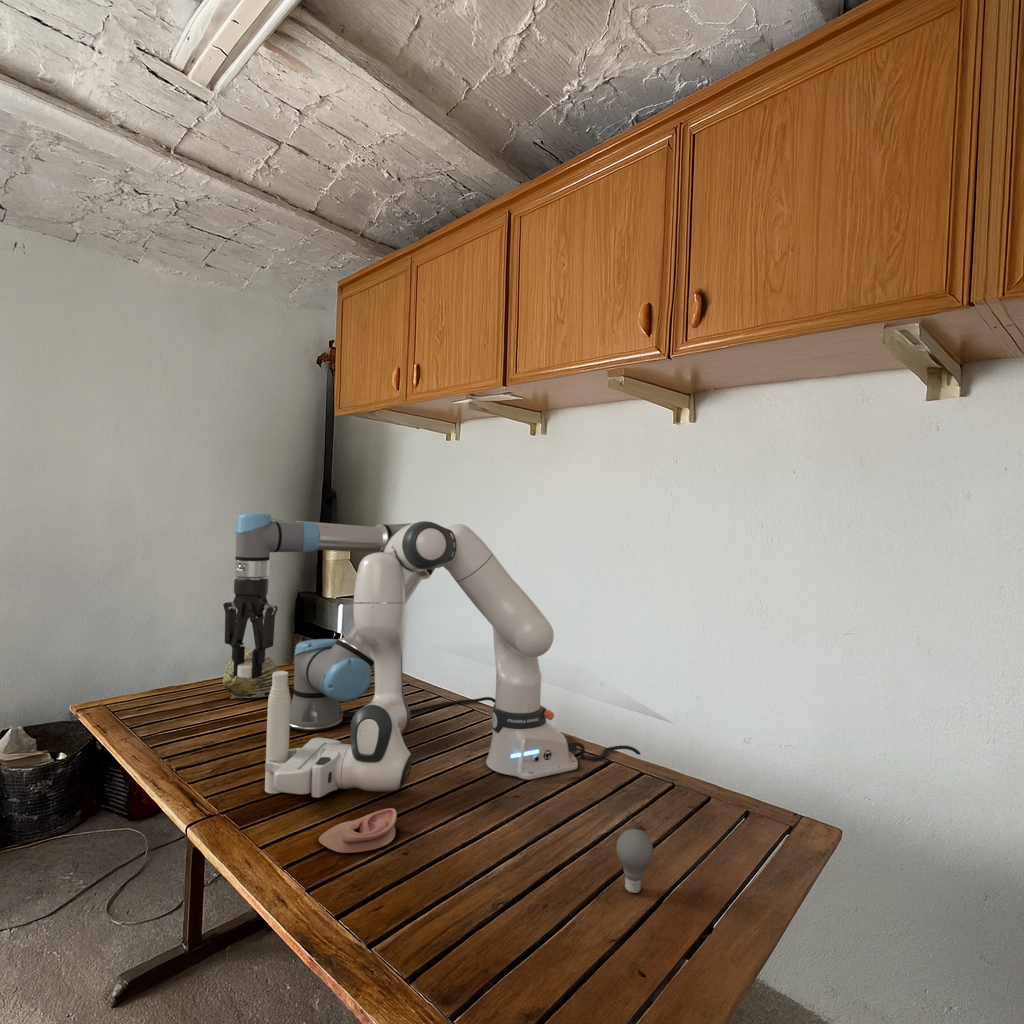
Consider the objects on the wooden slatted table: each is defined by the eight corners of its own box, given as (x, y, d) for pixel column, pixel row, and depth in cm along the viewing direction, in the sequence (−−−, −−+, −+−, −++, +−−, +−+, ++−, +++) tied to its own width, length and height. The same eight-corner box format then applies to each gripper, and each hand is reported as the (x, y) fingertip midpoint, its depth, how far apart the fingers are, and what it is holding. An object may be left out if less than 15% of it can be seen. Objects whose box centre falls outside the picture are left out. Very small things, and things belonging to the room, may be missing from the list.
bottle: (291, 785, 138) (295, 671, 138) (279, 795, 134) (283, 676, 133) (273, 782, 139) (277, 669, 139) (260, 791, 135) (264, 674, 134)
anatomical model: (310, 826, 114) (340, 797, 125) (309, 848, 114) (339, 817, 125) (379, 837, 111) (403, 806, 122) (378, 859, 111) (403, 827, 123)
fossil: (218, 695, 195) (220, 647, 195) (278, 685, 208) (279, 640, 207) (228, 703, 189) (230, 653, 188) (289, 692, 201) (290, 645, 201)
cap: (253, 671, 153) (253, 661, 153) (260, 676, 150) (260, 665, 150) (234, 674, 150) (234, 664, 150) (241, 679, 147) (241, 668, 147)
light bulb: (610, 879, 108) (613, 822, 108) (644, 879, 109) (647, 822, 109) (619, 902, 102) (622, 840, 102) (655, 901, 103) (658, 840, 103)
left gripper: (209, 576, 149) (205, 675, 149) (273, 582, 144) (268, 684, 144) (231, 573, 156) (227, 667, 156) (293, 578, 151) (288, 676, 152)
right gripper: (352, 732, 145) (294, 728, 147) (316, 770, 125) (250, 764, 126) (351, 760, 146) (293, 755, 147) (315, 802, 125) (248, 795, 126)
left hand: (247, 675), depth 150 cm, fingers closed on cap, 4 cm apart
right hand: (273, 759), depth 136 cm, fingers closed on bottle, 4 cm apart
